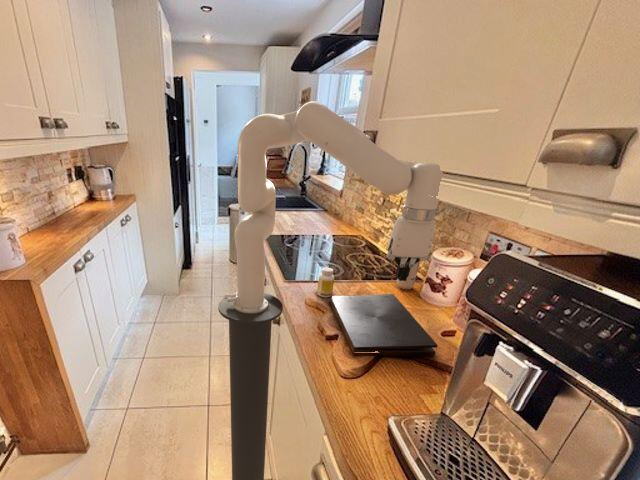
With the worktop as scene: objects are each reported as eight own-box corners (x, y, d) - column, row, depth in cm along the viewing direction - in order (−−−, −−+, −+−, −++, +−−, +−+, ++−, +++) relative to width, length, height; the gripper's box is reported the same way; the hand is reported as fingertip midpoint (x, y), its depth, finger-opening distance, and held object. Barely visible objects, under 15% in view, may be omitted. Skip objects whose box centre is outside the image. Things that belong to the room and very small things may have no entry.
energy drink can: (412, 291, 121) (423, 252, 114) (395, 288, 124) (404, 250, 117) (413, 285, 126) (423, 247, 119) (396, 282, 128) (405, 245, 122)
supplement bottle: (335, 295, 118) (338, 270, 114) (324, 298, 116) (327, 273, 111) (324, 290, 122) (328, 265, 118) (313, 293, 120) (316, 268, 115)
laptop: (391, 304, 112) (392, 299, 111) (434, 357, 85) (436, 351, 84) (329, 303, 113) (330, 298, 112) (353, 355, 86) (354, 349, 85)
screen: (393, 296, 110) (393, 294, 110) (437, 347, 84) (437, 345, 83) (330, 298, 112) (330, 296, 111) (354, 350, 85) (354, 347, 85)
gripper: (440, 211, 87) (421, 274, 96) (383, 210, 88) (370, 273, 96) (455, 218, 81) (433, 285, 89) (394, 216, 81) (378, 283, 90)
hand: (400, 279), depth 93 cm, fingers closed
